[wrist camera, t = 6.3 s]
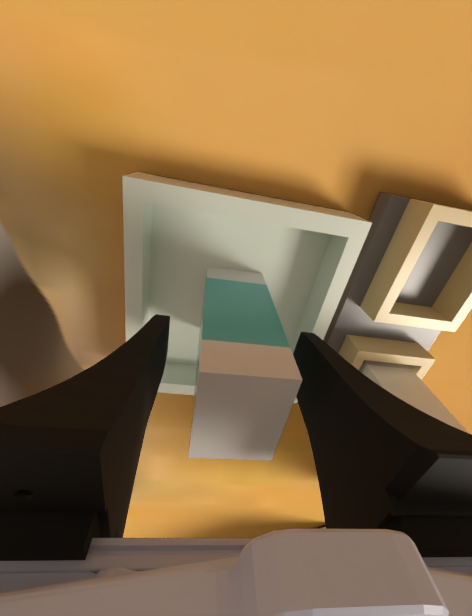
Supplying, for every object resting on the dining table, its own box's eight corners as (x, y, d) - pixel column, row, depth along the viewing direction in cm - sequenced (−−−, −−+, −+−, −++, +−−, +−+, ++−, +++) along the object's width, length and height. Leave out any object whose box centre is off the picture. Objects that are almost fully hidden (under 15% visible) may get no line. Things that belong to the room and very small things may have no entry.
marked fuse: (248, 332, 17) (271, 460, 10) (199, 328, 16) (188, 457, 9) (262, 273, 15) (302, 379, 8) (207, 266, 14) (199, 371, 7)
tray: (288, 376, 20) (296, 403, 18) (136, 362, 18) (126, 389, 16) (349, 212, 14) (372, 222, 12) (137, 171, 13) (122, 175, 10)
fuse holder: (383, 397, 21) (402, 425, 19) (299, 389, 20) (309, 419, 18) (497, 216, 15) (548, 227, 12) (380, 191, 14) (412, 199, 11)
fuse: (371, 396, 20) (455, 527, 13) (333, 392, 19) (398, 527, 12) (397, 353, 18) (512, 481, 11) (355, 348, 17) (447, 478, 10)
